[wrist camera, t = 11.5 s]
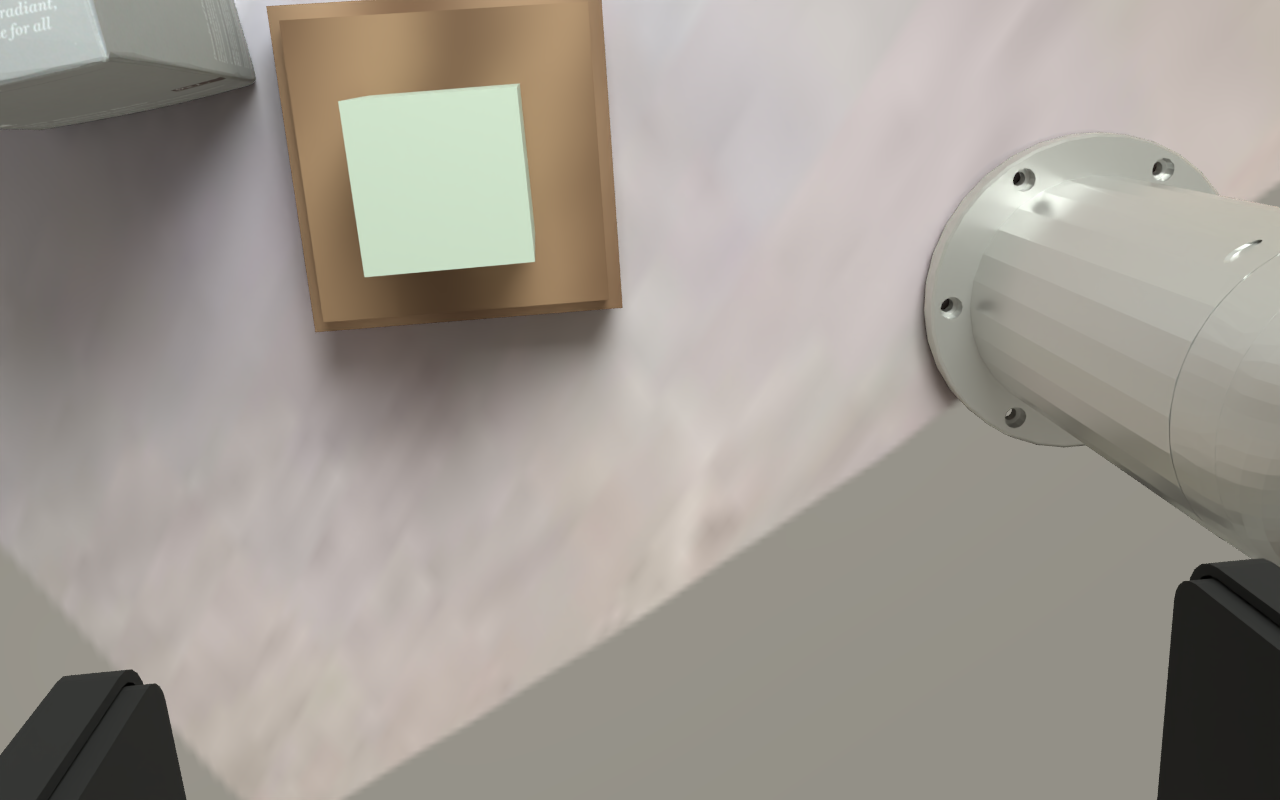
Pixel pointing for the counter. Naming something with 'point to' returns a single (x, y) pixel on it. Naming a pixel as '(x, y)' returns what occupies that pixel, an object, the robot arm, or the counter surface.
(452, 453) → the counter surface
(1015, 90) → the counter surface
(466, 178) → the sage block
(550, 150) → the walnut pedestal
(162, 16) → the skincare box
